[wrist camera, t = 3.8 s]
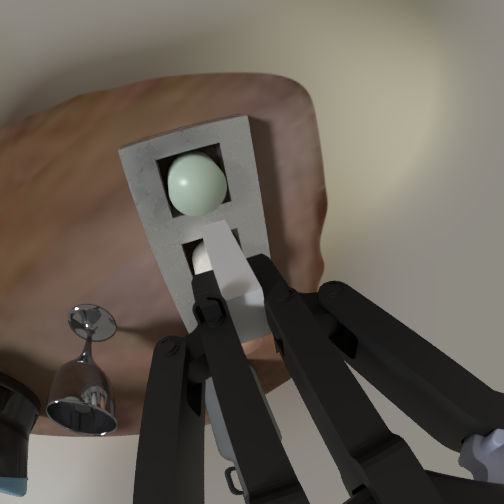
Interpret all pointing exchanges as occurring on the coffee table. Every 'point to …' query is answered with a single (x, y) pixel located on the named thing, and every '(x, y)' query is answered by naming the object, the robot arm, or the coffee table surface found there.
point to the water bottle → (222, 434)
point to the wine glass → (85, 379)
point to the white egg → (201, 259)
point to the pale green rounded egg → (196, 184)
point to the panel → (188, 227)
